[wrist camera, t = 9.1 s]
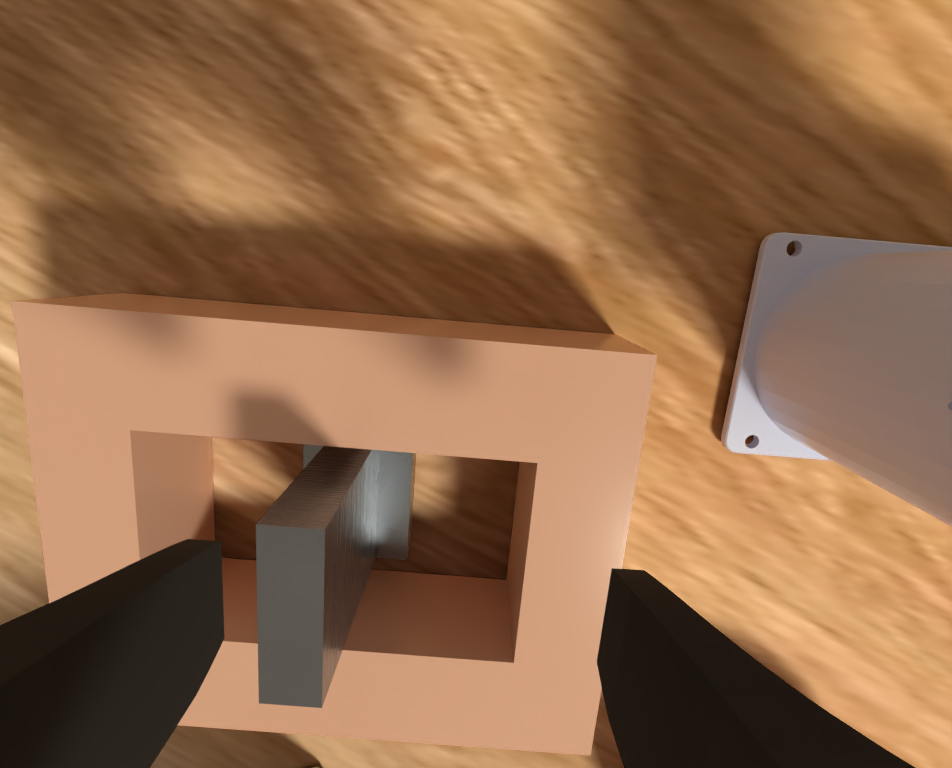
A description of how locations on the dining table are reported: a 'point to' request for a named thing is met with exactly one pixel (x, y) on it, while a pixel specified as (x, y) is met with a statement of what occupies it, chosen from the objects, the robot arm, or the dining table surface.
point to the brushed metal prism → (324, 562)
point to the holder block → (363, 427)
